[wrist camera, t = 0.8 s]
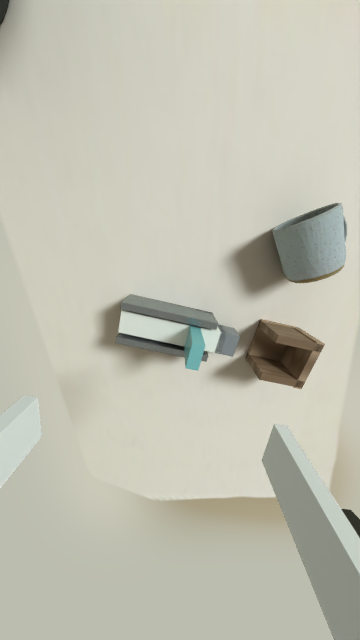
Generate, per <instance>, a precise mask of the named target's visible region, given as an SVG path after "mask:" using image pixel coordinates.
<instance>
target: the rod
mask: <svg viewBox="0 0 360 640" xmlns="http://www.w3.org/2000/svg"><path fill="white" fill-rule="evenodd" d="M118 332H119V333H123V334H128V335H133V336H138V337H142V338H147V339H152V340H157V341H161V342H166V343H171V344H176V345H180V346H184V348H185V368H188V369H192V370H197V371H198V369H199V366H200V362H201V359H202V356H203V352H204V351H209V352H214V353H218V354H223V355H228V356H232V357H233V355H234V352H235V349H236V346H237V344H238V341H239V338H240V336H239V334H238V333H237V332H236V330H235V329H234V328H231V327H226V326H222V325H218V326H217V329H216V330H214V329H210V328H205V327H200V326H196V325H191V324H187V323H182V322H178V321H173V320H169V319H164V318H160V317H155V316H150V315H146V314H141V313H137V312H132V311H128V310H123V309H122V310H121V316H120V323H119V330H118Z"/></svg>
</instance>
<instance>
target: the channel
mask: <svg viewBox="0 0 360 640" xmlns="http://www.w3.org/2000/svg"><path fill="white" fill-rule="evenodd" d="M120 309H123V310H128V311H132V312H137V313H141V314H146V315H150V316H155V317H160V318H164V319H169V320H173V321H178V322H182V323H187V324H191V325H196V326H200V327H205V328H210V329H214V330H216V329H217V326H218V322H217V320H216V319H215V317H214V315H213V313H211V312H207V311H202V310H198V309H193V308H189V307H185V306H180V305H176V304H171V303H167V302H163V301H158V300H154V299H149V298H145V297H140V296H136V295H132V294H131V295H129V296H128V297H127V298H126V299H124V300H123V301H122V302H121V308H120ZM116 343H118V344H123V345H128V346H132V347H137V348H142V349H147V350H152V351H157V352H162V353H166V354H171V355H176V356H181V357H185V348H184V346H180V345H176V344H171V343H166V342H161V341H157V340H152V339H147V338H142V337H138V336H133V335H128V334H123V333H119V334H118V336H117V337H116ZM207 358H208V354H207V351H204V352H203V356H202V359H201V361H205V362H206V361H207Z"/></svg>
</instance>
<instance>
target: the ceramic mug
mask: <svg viewBox="0 0 360 640" xmlns="http://www.w3.org/2000/svg"><path fill="white" fill-rule="evenodd" d="M272 233H273V236H274V239H275V243H276V247H277V250H278V253H279V257H280V260H281V264H282V268H283V271H284V274H285V276H286V277H287V279H288V280H289V281H291V282H295V283H308V282H314V281H318V280H322V279H325V278H328V277H330V276H332V275H334V274H336V273H338V272H339V271H340V270H341V269H342V268H343V267H344V264H345V259H346V247H345V241H346V236H347V224H346V220H345V217H344V215H343V207H342V204H341V203H335V204H331V205H328V206H325V207H322V208H319V209H316V210H313V211H310V212H308V213H305V214H303V215H300V216H298V217H296V218H294V219H291V220H289V221H287V222H285V223H282V224H281V225H279V226H277V227H275V228H274V229H273V232H272Z"/></svg>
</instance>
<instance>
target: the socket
mask: <svg viewBox="0 0 360 640" xmlns="http://www.w3.org/2000/svg"><path fill="white" fill-rule="evenodd" d="M324 345H325V344H324V343H322V342H321V341H319V340H318V339H316V338H314V337H313V336H311V335H309V334H308V333H306V332H305V331H303V330H301V329H300V328H297V327H293V326H289V325H284V324H280V323H276V322H271V321H267V320H262V319H261V320H260V323H259V325H258V328H257V330H256V333H255V336H254V338H253V341H252V343H251V346H250V348H249V351H248V354H247V356H246V361H248V362H249V364H250V365H251V367H252V369H253V370H254V372H255V373H256V375H257V376H258V378H259V380H264V381H269V382H274V383H279V384H284V385H289V386H293V387H294V388H298V389H302V387H303V385H304V383H305V381H306V379H307V377H308V375H309V373H310V372H311V370H312V368H313V366H314V364H315V362H316V360H317V358H318V356H319V354H320V352H321V350H322V349H323V347H324Z"/></svg>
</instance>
